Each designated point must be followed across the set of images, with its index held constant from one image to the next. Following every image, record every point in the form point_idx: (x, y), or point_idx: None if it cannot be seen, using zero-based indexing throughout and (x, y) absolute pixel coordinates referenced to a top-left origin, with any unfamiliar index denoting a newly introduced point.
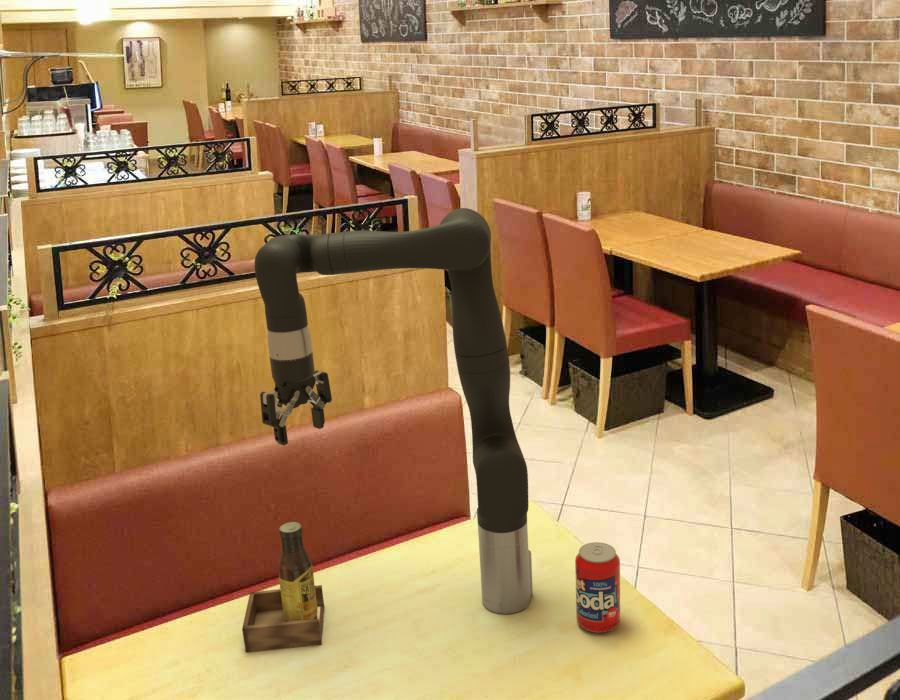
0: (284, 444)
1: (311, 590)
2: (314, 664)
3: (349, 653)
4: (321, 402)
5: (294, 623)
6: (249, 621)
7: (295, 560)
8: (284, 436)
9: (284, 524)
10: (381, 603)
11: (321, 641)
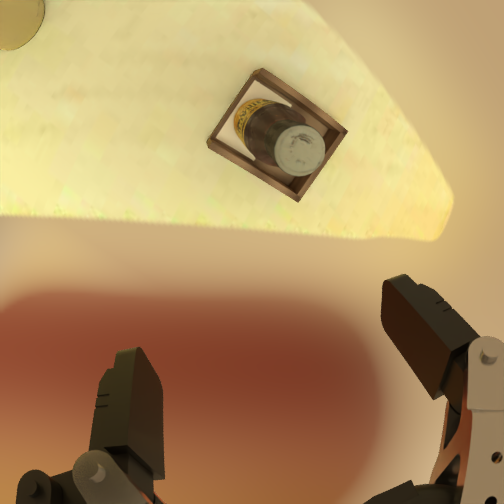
0: (405, 276)
1: (255, 103)
2: (282, 44)
3: (236, 31)
4: (96, 498)
5: (291, 88)
6: (327, 146)
7: (291, 116)
8: (429, 300)
9: (303, 172)
10: (137, 99)
11: (252, 74)
